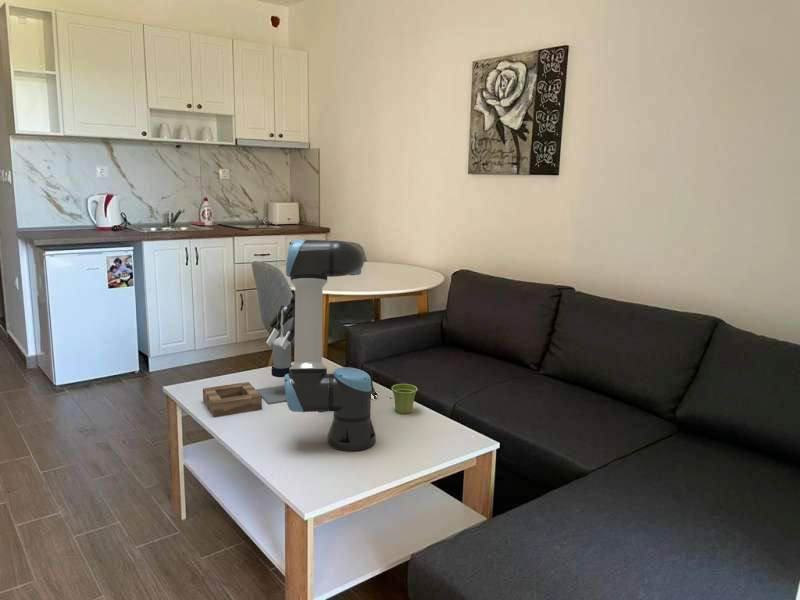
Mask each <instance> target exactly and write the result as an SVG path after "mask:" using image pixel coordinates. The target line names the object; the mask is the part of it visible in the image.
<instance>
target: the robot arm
mask: <svg viewBox="0 0 800 600" xmlns="http://www.w3.org/2000/svg"><path fill="white" fill-rule="evenodd" d="M285 263H286V264H285V265H286V269H285V276H287V277H289V278H290V284H292V285H293V287H294V293H293V294H292V297H290V303H289V304H288V305H287V306H284V305H281V306H280V309H279V310H278V320H277V314H276V315H275V316H274V318H273V319H272V321H271V322H270V324H269V326H270V327H271V331H270V333H269V335H268V336H269V337H268V338H267V340H266V341H265V343H266V345H268V346H269V347H273V343H274V341H275V340H276V339H277V338H278V336H279V333H280V332H279V330H280V329H281V325H280V323H281V310H283V326H284V325H285V324H286V323H287V322H288V321H289V320H292V318H293V320H292V323H291V329H289V330H288V331H287V332H286V334H285V336H284V337H285V338H284V340H283V342H282V343H281V345H280V346H281V347H282V348H283V349H284V350H285V349H286V347H287V346H288V344H289V342H292V341H293V339H294V360H293V364H291V365H292V366H291V367H290V368H289V374H286V375H285V376H284V377H283V379H284V385H285V392H286V400H287V402H286V404H287V408H288V410H290V411H291V412H292V413H303V414H304V413H311V412H312V413H316V412H317V413H323V412H333V418H332V422H331V425H330V427H329V430H328V433H327V444H328V445H329V446H330V447H331V448H333V449H335V450H339V451H343V452H344V451H346V452H358V451H364V450H367V449H369V448H371V447H372V446H374V445H375V444H376V435H377V434H376V431H375V428H374V425H373V422H372V419H371V418H372V417H371V412H372V411H371V410H372V409H371V408H372V407H371V406H372V405H371V403H372V402H371V400H372V399H371V390H372V388H371V378H370V375H369V374H370V373H367V371H364V370H363V369H359V368H355V367H349V366H348V367H347V366H345V367H344V366H342V367H337V368H335V369H334V371H332V372H333V373H328V368H327V366H326V365H325V364H324V363H323V288H324V286H325V285H326V284H327V283H328V277H330V278H336V277H345V276H359V275H361V274H362V268H363V267H364V265H365V264H364V263H365V257H364V254H363V251H362V250H361V249H360V248H359V247H358V246H356V245H355V244H351V243H349V242H347V241H344V240H343V241H342V240H326V239H325V240H323V239H299V240H298V239H295V240H293V241H291V243H289V247H288V251H287V256H286V262H285ZM277 323H278V324H277ZM277 328H278V330H277Z"/></svg>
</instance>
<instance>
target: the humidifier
mask: <svg viewBox="0 0 800 600" xmlns="http://www.w3.org/2000/svg"><path fill="white" fill-rule="evenodd" d="M278 312H279V310H278V311H277V312H276V313H277V314H276V315H277V320H278ZM277 324H278V323H277ZM280 325H281V328H280V329H281V331H280V336H278V337H276V339H275V341H274V342H273V344H272V358H273V359H272V360H273V361H272V363H273V364H272V366H271V376H272V377H275V378H284V376H285V375H286V374H289V368H290V367H291V366H292V365H293V364H292V344H291V342H292V341H291V342H289V344H288V346H287V347H286V349H285V350H284V349H283V348H282V347H281V346H280V345H281V343H282V342H283V340H284V338H285V336H284V331H285V330H284V329H285V328H284V325H283V310H281V323H280ZM277 330H278V328H277ZM278 331H279V330H278Z"/></svg>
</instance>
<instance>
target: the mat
mask: <svg viewBox="0 0 800 600" xmlns="http://www.w3.org/2000/svg"><path fill="white" fill-rule="evenodd" d="M255 389H256V390H257V391H258V393H259V394H260V395H261V396H262V399H263V400H264V401H265V403H267V404H268V405H275V404H279V403H287V400H286V392H285V384H284V385H277V386H271V387H264V388H259V389H257V388H255Z"/></svg>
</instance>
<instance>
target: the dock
mask: <svg viewBox="0 0 800 600" xmlns="http://www.w3.org/2000/svg"><path fill="white" fill-rule="evenodd" d="M256 389H257V388H255V387H254V386H253V385H252V384H251V382H249V381H246V382H237V383H231V384H224V385H223V384H222V385H217V386H208V387H202V401H204V402H203V403H204V405H205V404H206V405H205V407H206V408H207V407H208V408H207V409H208V411H209V410H210V411H209V412H210V414H211V415H213V416H212V417H213V418H217V417H223V416H230V415H235V414H240V413H248V412H253V411H259V410H263V401H262V399H263V398H262V396H261V395H260V394H259V393H258V391H257V390H256Z"/></svg>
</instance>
